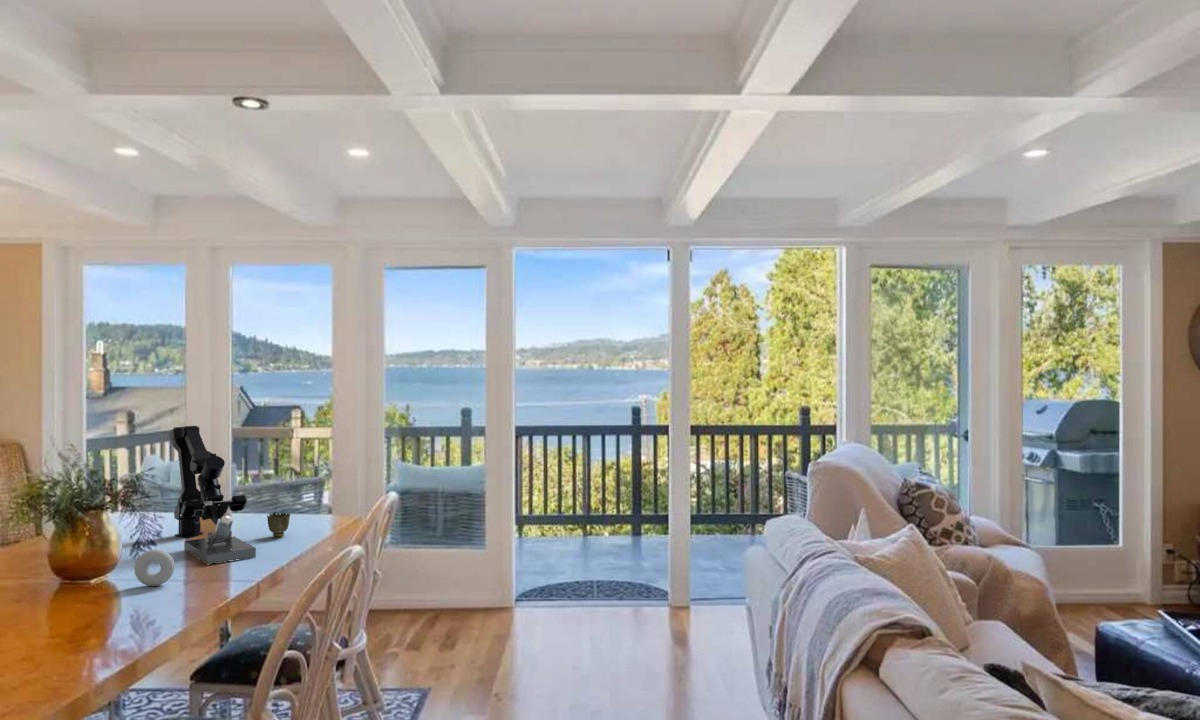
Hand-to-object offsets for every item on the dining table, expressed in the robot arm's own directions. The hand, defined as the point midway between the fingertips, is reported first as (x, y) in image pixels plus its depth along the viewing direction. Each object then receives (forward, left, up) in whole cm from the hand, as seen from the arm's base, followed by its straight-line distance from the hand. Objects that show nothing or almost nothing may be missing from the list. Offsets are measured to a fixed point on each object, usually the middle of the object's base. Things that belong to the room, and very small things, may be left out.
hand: (220, 527), depth 240 cm
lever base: (0, 0, -8) cm, 8 cm away
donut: (+9, -33, -9) cm, 36 cm away
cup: (+2, +25, -9) cm, 26 cm away
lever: (0, 0, -4) cm, 4 cm away
